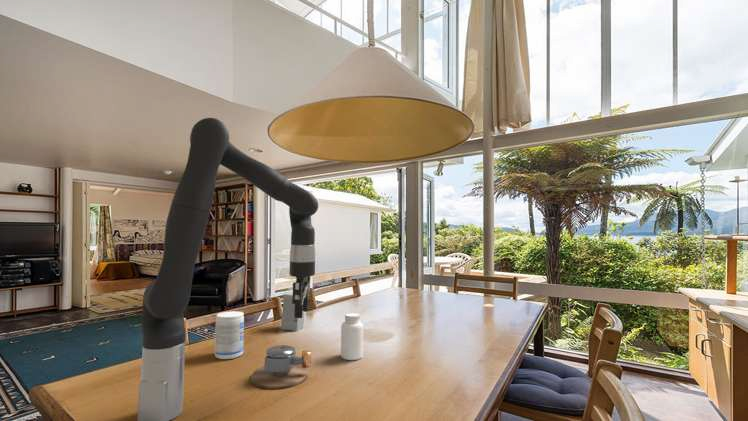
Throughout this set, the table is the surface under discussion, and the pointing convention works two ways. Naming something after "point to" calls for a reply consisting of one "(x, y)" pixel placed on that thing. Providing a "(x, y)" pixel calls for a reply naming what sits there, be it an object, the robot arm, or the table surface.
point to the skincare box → (290, 315)
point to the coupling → (285, 359)
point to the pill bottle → (352, 337)
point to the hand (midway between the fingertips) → (301, 314)
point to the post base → (279, 378)
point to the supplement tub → (229, 335)
